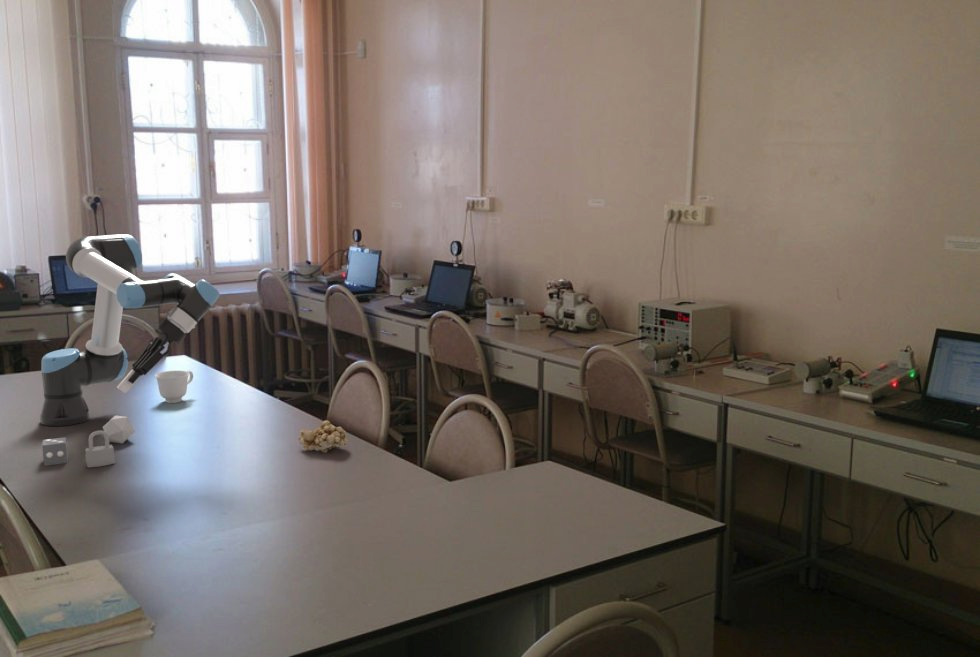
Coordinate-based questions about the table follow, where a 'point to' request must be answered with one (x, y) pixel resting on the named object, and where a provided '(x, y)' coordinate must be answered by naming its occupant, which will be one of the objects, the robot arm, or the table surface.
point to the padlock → (99, 452)
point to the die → (118, 429)
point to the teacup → (173, 384)
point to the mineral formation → (323, 438)
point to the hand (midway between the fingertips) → (120, 390)
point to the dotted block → (54, 451)
